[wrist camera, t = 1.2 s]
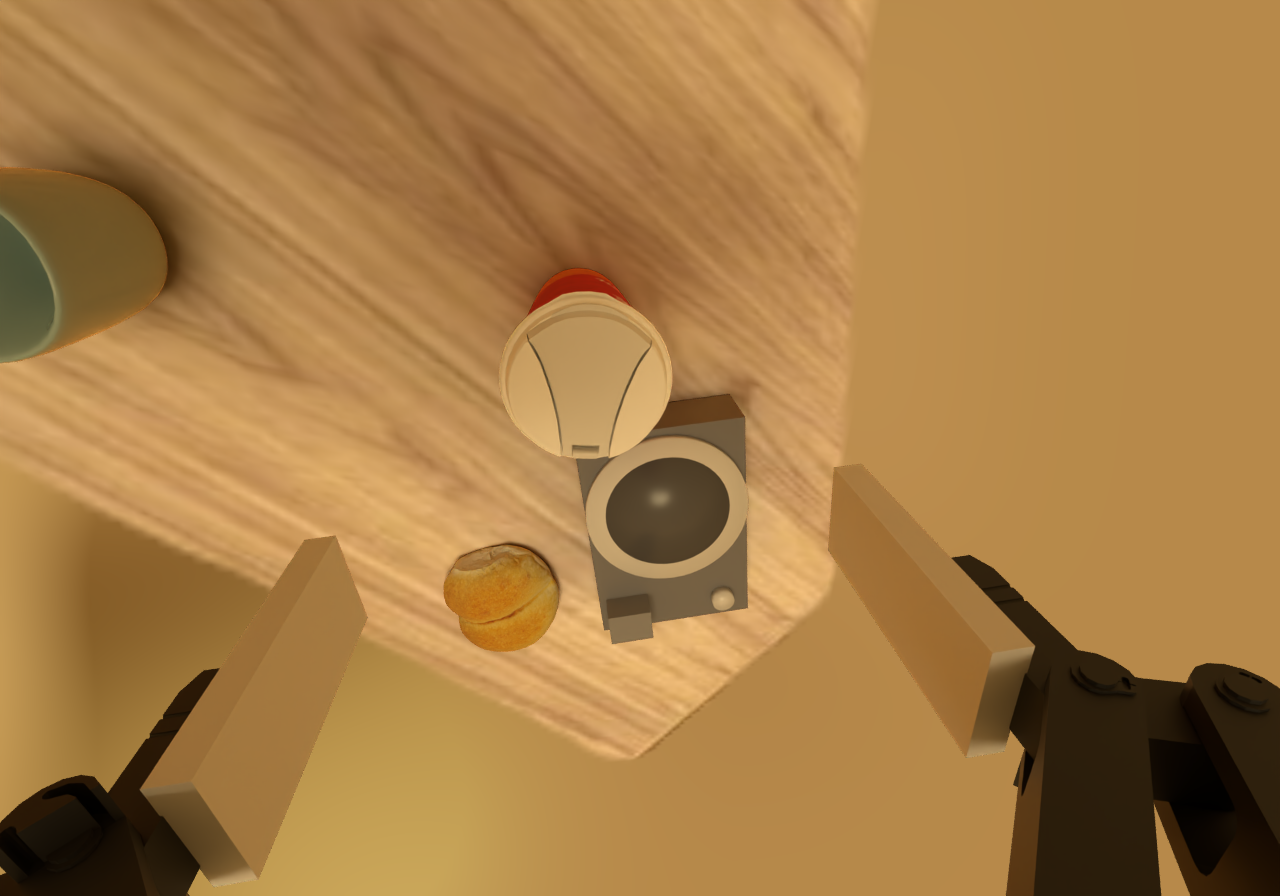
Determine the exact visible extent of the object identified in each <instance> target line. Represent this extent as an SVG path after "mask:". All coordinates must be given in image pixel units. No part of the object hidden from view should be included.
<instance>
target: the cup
mask: <svg viewBox="0 0 1280 896" xmlns="http://www.w3.org/2000/svg"><path fill="white" fill-rule="evenodd" d="M167 272H168V262H167V253H166V249H165V245H164V242H163V239H162V237H161V235H160V232H159V230H158V229H157V227H156V225H155V224H154V222H153V220H152V219H151V218H150V217H149V215H148V214H147V213H146V212H145V211H144V209H143V208H142V207H140V206H139V205H138V204H137V203H136V202H135V201H134V200H133V199H131V198H130V197H129V196H127V195H126V194H124V193H123V192H121V191H119V190H118V189H116V188H114V187H112V186H109V185H107V184H105V183H102V182H100V181H97V180H95V179H92V178H88V177H84V176H80V175H76V174H72V173H68V172H61V171H55V170H44V169H33V168H18V167H0V363H9V362H18V361H23V360H26V359H30V358H33V357H37V356H41V355H44V354H47V353H50V352H53V351H56V350H58V349H61V348H63V347H66V346H68V345H71V344H74V343H76V342H79V341H81V340H84V339H86V338H88V337H91V336H93V335H96V334H98V333H100V332H103V331H105V330H107V329H109V328H111V327H113V326H115V325H117V324H119V323H121V322H123V321H125V320H127V319H129V318H130V317H132V316H134V315H136V314H137V313H139V312H140V311H142V310H143V309H145V308H146V307H147V306H148V305H149V304H150V303H151V302H152V301H153V300H154V299H155V298H156V297H157V296H158V295H159V294H160V292H161V290H162V288H163V286H164V284H165V282H166V278H167Z"/></svg>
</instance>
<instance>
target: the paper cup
mask: <svg viewBox="0 0 1280 896" xmlns="http://www.w3.org/2000/svg"><path fill="white" fill-rule="evenodd" d="M499 385H500V393H501V396H502V400H503V403H504V406H505V408H506V410H507V412H508V414H509V416H510V418H511V419H512V421H513V422H514V424H515V425H516V427H517V428H518V429H519V430H520V431H521V432H522V433H523V434H524V435H525V436H526V437H527V438H529V439H530V440H531V441H532V442H534V443H535V444H536V445H538V446H539V447H540V448H542V449H544V450H545V451H547V452H549V453H551V454H553V455H556V456H558V457H561V455H562V456H566V457H571V458H580V459H597V458H600V457H606V456H608V457H609V458H612V457H614V456H617V455H620V454H622V453H624V452H626V451H628V450H630V449H631V448H633V447H634V446H635V445H637V444H638V443H640V442H641V441H642V440H643V439H644V438H645V437H646V436H647V435H648V434H649V432H650V431H651V430H652V429H653V428H654V426H655V425H656V424H657V422H658V421H659V420H660V418H661V416H662V414H663V412H664V411H665V409H666V406H667V403H668V401H669V398H670V393H671V388H672V366H671V360H670V356H669V353H668V350H667V347H666V345H665V343H664V341H663V339H662V337H661V335H660V334H659V332H658V331H657V330H656V328H655V327H654V326H653V324H652V323H651V322H650V321H649V320H648V319H647V318H646V317H645V316H643V315H642V314H641V313H639V312H638V311H637V310H635V309H634V308H632V307H631V306H630V304H629V303H628V302H627V300H626V299H625V298H624V296H623V295H622V294H621V293H620V291H619V290H618V289H617V288H616V286H615V285H614V284H613V283H612V282H611V281H610V280H609V279H607V278H606V277H605V276H603V275H602V274H600V273H598V272H596V271H593V270H589V269H583V268H574V269H568V270H565V271H562V272H560V273H558V274H556V275H554V276H553V277H552V278H551V279H549V280H548V281H547V282H546V283H545V285H544V286H543V287H542V289H541V290H540V292H539V294H538V295H537V297H536V299H535V301H534V303H533V305H532V307H531V309H530V311H529V313H528V316H527V317H526V318H525V319H524V320H523V321H522V322H521V323H520V324H519V325H518V326H517V327H516V328H515V330H514V331H513V333H512V335H511V336H510V338H509V339H508V341H507V344H506V346H505V348H504V351H503V353H502V358H501V362H500V368H499Z"/></svg>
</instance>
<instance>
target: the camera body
mask: <svg viewBox="0 0 1280 896" xmlns="http://www.w3.org/2000/svg"><path fill="white" fill-rule="evenodd" d="M576 460H577V466H578V472H579V478H580V485H581V491H582V497H583V503H584V509H585V515H586V524H587V529H588V534H589V540H590V546H591V552H592V558H593V564H594V571H595V577H596V583H597V589H598V595H599V601H600V607H601V614H602V620H603V626H604V630H610V634H611V641H612V644H617V643H623V642H629V641H636V640H642V639H648V638H653V630H652V623H655V622H662V621H668V620H675V619H681V618H687V617H694V616H700V615H707V614H713V613H719V612H726V611H732V610H739V609H745V608H748V594H747V525H746V517H747V513H748V502H749V501H748V491H747V487H746V455H745V416H744V415H743V413H742V412H741V411H740V409H739V408H738V406H737V405H736V403H735V402H734V400H733V399H732V397H731V396H730V394H727V395H719V396H712V397H704V398H697V399H689V400H682V401H674V402H668V403H667V406H666V409H665V411H664V412H663V414H662V416H661V418H660V420H659V421H658V422H657V424H656V425H655V426H654V428H653V429H652V430H651V431H650V432H649V434H648V435H647V436H646V437H645V438H644V439H643V440H642V441H641V442H640V443H638V444H637V445H635V446H634V447H633V448H631V449H630V450H628V451H626V452H624V453H622V454H620V455H617V456H614V457H612V458H609V457H608V456H606V457H600V458H597V459H580V458H576Z"/></svg>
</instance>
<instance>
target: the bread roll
mask: <svg viewBox="0 0 1280 896" xmlns="http://www.w3.org/2000/svg"><path fill="white" fill-rule="evenodd" d="M444 598H445V602H446V604H447V606H448V607H449V608H450V609H451V610H452V611H453V612H455V613H456V614H457V615H459V623H460V628H461V630H462V633H463V634H464V635H465V636H466V638H467V639H469V640H470V641H471V642H472V643H474V644H475V645H477V646H479V647H480V648H483V649H485V650H491V651H497V652H508V651H515V650H519V649H522V648H526V647H528V646H530V645H532V644H533V643H535V642H536V641H537V640H539V639H540V638H541V637H542V636H543V635H544V634H545V632H546V631H547V630H548V628H549V627H550V625H551V623H552V622H553V620H554V618H555V615H556V612H557V608H558V603H559V590H558V585H557V583H556V581H555V580H554V578H553V577H552V574H551V572H550V570H549V568H548V566H547V565H546V564H545V563H544V561H543V560H542V559H540V558H539V557H538V556H537V555H535V554H534V553H532V552H531V551H529V550H527V549H525V548H522V547H518V546H513V545H501V546H496V547H488V548H484V549H481V550H478V551H475V552H473V553H470V554H468V555H466V556H463V557H462V558H460V559H459V560H458V561H457V562H456V563H455V565H454V567H453V569H452V571H451V572H450V574H449V575H448V577H447V578H446V580H445V582H444Z"/></svg>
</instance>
